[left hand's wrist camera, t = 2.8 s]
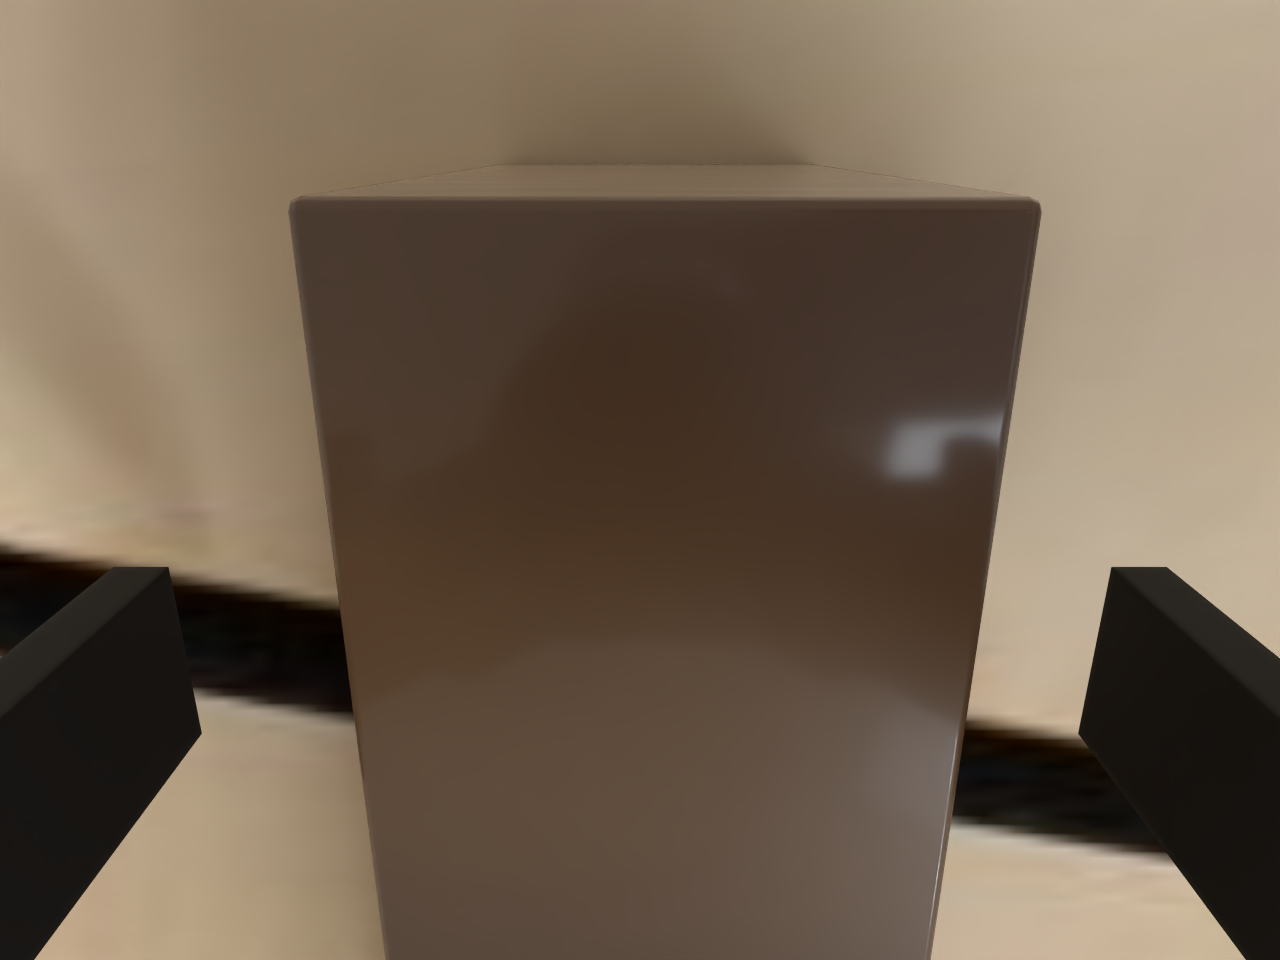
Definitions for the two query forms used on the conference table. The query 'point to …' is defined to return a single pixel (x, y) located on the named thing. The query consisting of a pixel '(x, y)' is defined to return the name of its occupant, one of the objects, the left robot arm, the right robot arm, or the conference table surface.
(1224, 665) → the left robot arm
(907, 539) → the post
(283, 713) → the conference table surface
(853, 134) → the conference table surface
